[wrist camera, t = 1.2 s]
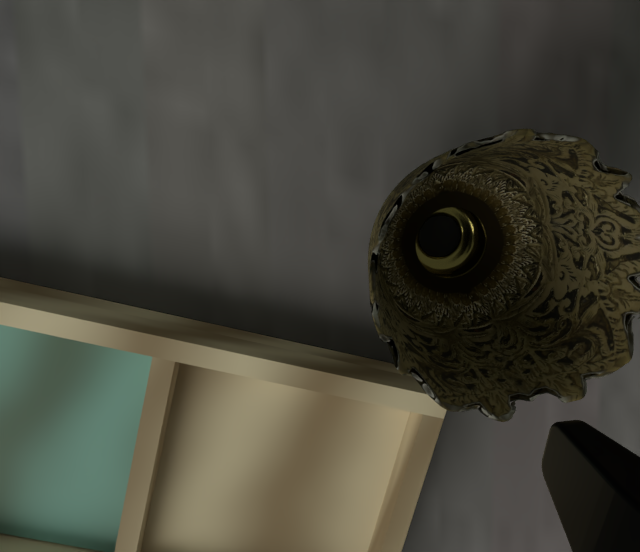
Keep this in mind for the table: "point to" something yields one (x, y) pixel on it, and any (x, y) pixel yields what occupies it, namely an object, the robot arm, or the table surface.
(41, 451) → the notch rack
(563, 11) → the table surface
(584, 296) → the cup
